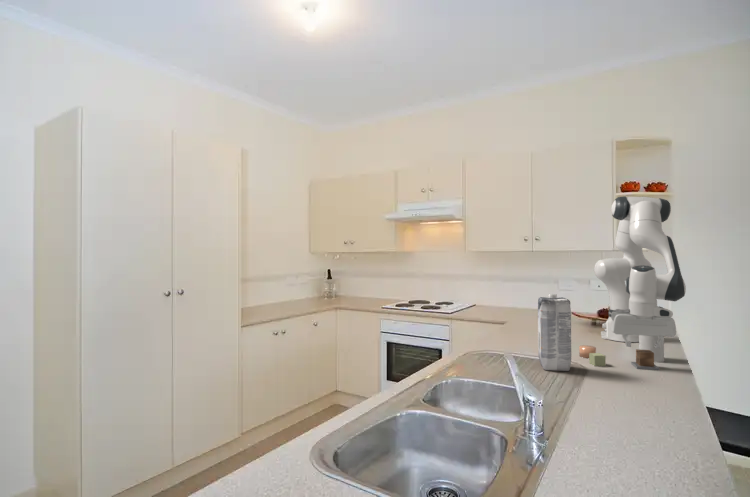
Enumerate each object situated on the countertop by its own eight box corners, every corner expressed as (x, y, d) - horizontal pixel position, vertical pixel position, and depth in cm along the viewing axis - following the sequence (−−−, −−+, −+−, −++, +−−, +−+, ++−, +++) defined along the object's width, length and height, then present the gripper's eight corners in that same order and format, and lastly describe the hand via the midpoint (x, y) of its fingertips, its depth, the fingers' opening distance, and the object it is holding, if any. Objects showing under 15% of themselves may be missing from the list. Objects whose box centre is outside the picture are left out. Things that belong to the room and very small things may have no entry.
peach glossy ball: (578, 354, 173) (578, 344, 173) (594, 355, 171) (594, 345, 171) (581, 358, 167) (580, 348, 167) (597, 359, 165) (597, 349, 165)
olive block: (589, 363, 159) (589, 353, 159) (599, 363, 159) (599, 353, 159) (594, 366, 155) (594, 355, 155) (605, 366, 155) (605, 355, 155)
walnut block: (639, 365, 152) (639, 352, 152) (636, 362, 157) (635, 349, 157) (654, 366, 151) (653, 352, 151) (649, 363, 155) (649, 350, 155)
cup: (656, 356, 168) (656, 327, 168) (668, 362, 160) (668, 330, 160) (635, 356, 169) (634, 326, 169) (646, 362, 160) (645, 330, 160)
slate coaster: (631, 363, 158) (631, 361, 158) (652, 365, 156) (652, 362, 156) (637, 368, 151) (637, 366, 151) (659, 370, 149) (659, 368, 149)
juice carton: (573, 372, 148) (572, 296, 148) (541, 371, 150) (540, 295, 150) (566, 365, 156) (566, 293, 156) (537, 364, 159) (536, 293, 159)
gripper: (613, 310, 154) (613, 347, 155) (678, 312, 148) (677, 351, 149) (609, 307, 160) (609, 343, 161) (671, 309, 154) (671, 346, 155)
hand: (642, 347), depth 155 cm, fingers open, 8 cm apart
